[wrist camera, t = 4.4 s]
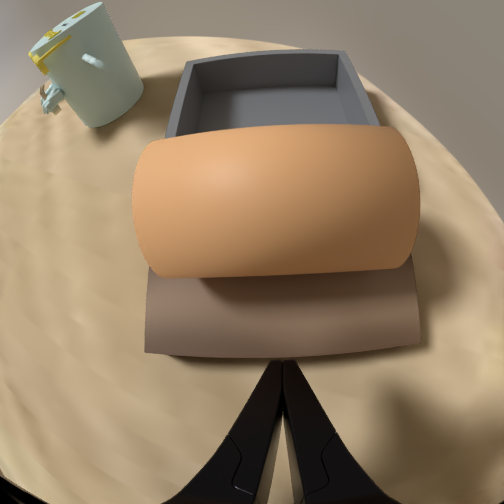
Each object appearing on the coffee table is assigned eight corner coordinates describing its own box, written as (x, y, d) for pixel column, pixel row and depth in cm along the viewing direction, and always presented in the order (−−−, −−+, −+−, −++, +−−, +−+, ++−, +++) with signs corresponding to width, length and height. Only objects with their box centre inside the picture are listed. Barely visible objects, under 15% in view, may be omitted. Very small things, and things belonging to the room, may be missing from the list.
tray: (370, 178, 19) (386, 140, 15) (182, 188, 21) (161, 153, 17) (340, 85, 23) (344, 50, 19) (198, 94, 25) (186, 61, 20)
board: (404, 343, 15) (420, 342, 13) (161, 352, 17) (144, 352, 15) (379, 181, 19) (388, 162, 17) (173, 192, 21) (161, 175, 18)
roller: (359, 182, 17) (384, 97, 10) (379, 285, 14) (438, 228, 8) (193, 190, 18) (154, 112, 12) (183, 294, 15) (117, 243, 9)
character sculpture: (54, 117, 29) (8, 60, 16) (112, 68, 31) (78, 5, 18) (95, 178, 23) (10, 86, 10) (182, 103, 25) (138, -6, 12)
